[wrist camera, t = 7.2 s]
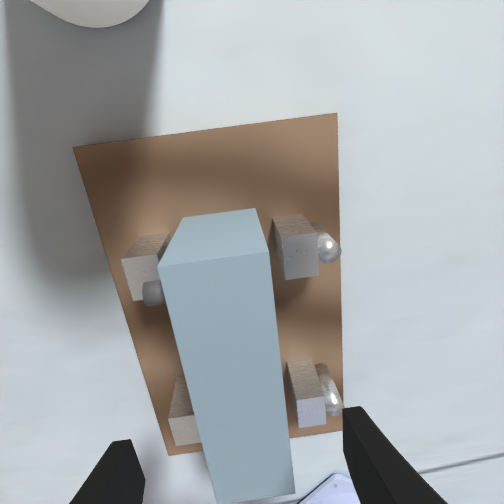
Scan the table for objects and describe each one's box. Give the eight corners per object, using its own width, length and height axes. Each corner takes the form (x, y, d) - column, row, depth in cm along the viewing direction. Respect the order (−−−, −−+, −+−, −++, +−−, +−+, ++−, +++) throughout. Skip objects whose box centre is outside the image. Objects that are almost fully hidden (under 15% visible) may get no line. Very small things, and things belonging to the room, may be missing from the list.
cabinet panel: (338, 415, 23) (344, 430, 22) (171, 439, 23) (168, 455, 22) (329, 113, 16) (337, 112, 15) (83, 145, 15) (72, 147, 14)
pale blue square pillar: (277, 392, 20) (295, 493, 15) (205, 402, 20) (195, 508, 15) (255, 207, 16) (269, 251, 10) (162, 220, 16) (125, 271, 10)
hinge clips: (328, 381, 20) (344, 421, 17) (183, 401, 20) (175, 446, 17) (321, 211, 16) (340, 229, 13) (139, 236, 16) (120, 259, 13)
